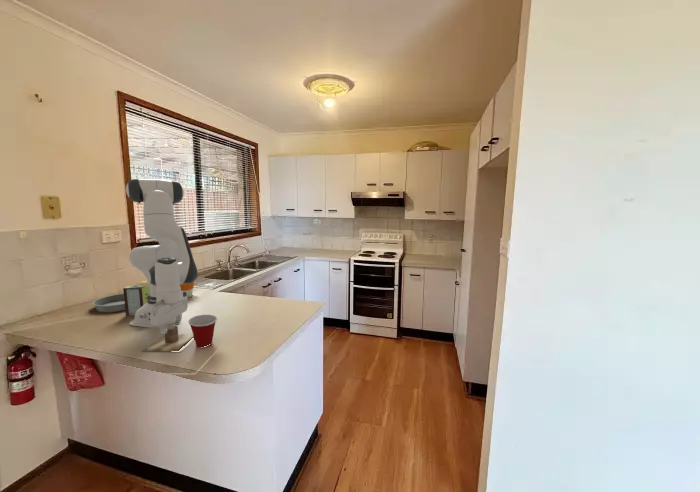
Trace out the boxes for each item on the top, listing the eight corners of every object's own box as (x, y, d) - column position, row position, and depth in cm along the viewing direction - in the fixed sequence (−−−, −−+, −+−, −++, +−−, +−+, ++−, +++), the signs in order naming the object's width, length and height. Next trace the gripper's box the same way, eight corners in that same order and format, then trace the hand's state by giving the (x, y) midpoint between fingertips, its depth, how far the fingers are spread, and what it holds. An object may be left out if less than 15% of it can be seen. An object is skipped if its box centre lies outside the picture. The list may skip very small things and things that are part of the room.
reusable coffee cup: (179, 300, 179) (177, 277, 177) (169, 296, 186) (167, 274, 183) (199, 295, 189) (197, 273, 187) (189, 292, 196) (187, 270, 194)
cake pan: (153, 304, 173) (153, 296, 172) (102, 317, 152) (101, 308, 151) (135, 296, 186) (135, 290, 185) (86, 307, 165) (85, 300, 164)
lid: (146, 350, 117) (144, 334, 116) (166, 336, 129) (165, 321, 128) (178, 351, 117) (176, 334, 116) (195, 336, 129) (194, 321, 128)
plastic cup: (202, 354, 115) (201, 325, 113) (184, 348, 119) (182, 321, 117) (224, 342, 125) (222, 316, 123) (206, 338, 129) (204, 312, 127)
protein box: (163, 306, 169) (161, 280, 166) (144, 316, 153) (141, 288, 151) (146, 305, 169) (143, 280, 167) (125, 315, 154) (122, 287, 151)
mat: (140, 352, 116) (140, 351, 116) (164, 336, 130) (164, 335, 130) (180, 353, 116) (180, 352, 116) (199, 336, 130) (199, 335, 130)
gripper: (160, 304, 110) (163, 339, 111) (189, 290, 130) (191, 320, 131) (144, 304, 109) (146, 339, 111) (175, 290, 130) (177, 320, 131)
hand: (171, 328), depth 121 cm, fingers open, 8 cm apart
